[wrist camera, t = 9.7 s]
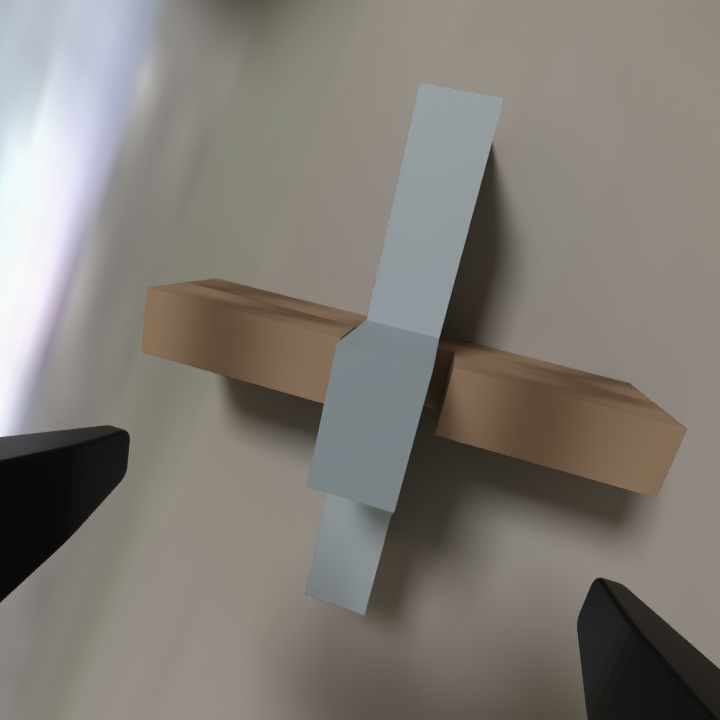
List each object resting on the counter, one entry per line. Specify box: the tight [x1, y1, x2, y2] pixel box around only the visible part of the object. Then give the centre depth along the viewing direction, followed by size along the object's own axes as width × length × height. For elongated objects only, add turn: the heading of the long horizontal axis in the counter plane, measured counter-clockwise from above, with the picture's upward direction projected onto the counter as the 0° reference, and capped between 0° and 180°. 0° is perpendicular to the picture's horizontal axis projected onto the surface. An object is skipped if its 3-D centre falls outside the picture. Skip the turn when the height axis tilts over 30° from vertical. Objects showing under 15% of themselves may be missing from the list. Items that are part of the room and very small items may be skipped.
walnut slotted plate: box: [142, 279, 687, 498], centre depth 18 cm, size 18×2×5 cm, turn 78°
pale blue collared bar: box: [305, 83, 504, 615], centre depth 16 cm, size 18×2×9 cm, turn 168°
